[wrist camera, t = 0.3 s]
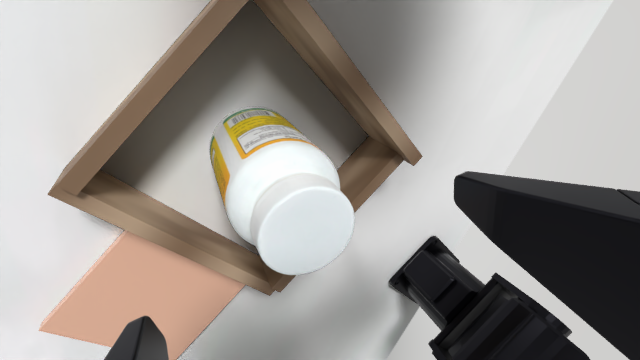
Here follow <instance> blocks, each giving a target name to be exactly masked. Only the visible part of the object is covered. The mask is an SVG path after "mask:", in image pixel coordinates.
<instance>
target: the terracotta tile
mask: <svg viewBox="0 0 640 360" xmlns="http://www.w3.org/2000/svg"><path fill="white" fill-rule="evenodd" d="M244 286H245V284H243V283H241V282H239V281H236V280H234V279H232V278H230V277H228V276H225V275H223V274H221V273H219V272H217V271H214V270H212V269H210V268H208V267H206V266H203V265H201V264H199V263H197V262H195V261H192V260H190V259H188V258H186V257H184V256H181V255H179V254H177V253H175V252H173V251H170V250H168V249H166V248H164V247H162V246H159V245H157V244H155V243H153V242H151V241H148V240H146V239H144V238H142V237H140V236H137V235H135V234H133V233H131V232H129V231H126V230H124V231H123V233H122V234H121V235H120V236H119V237H118V238H117V239H116V240H115V241H114V243H113V244H112V245H111V246H110V247H109V248H108V249H107V250H106V251H105V253H104V254H103V255H102V256H101V257H100V258H99V259H98V260H97V262H96V263H95V264H94V265H93V266H92V267H91V268H90V269H89V270H88V272H87V273H86V274H85V275H84V276H83V277H82V278H81V279H80V281H79V282H78V283H77V284H76V285H75V286H74V287H73V288H72V289H71V291H70V292H69V293H68V294H67V295H66V296H65V297H64V298H63V300H62V301H61V302H60V303H59V304H58V305H57V306H56V307H55V308H54V310H53V311H52V312H51V313H50V314H49V315H48V316H47V317H46V319H45V320H44V321H43V322H42V324H41V326H40V329H39V331H43V332H47V333H51V334H56V335H60V336H65V337H69V338H73V339H78V340H82V341H87V342H91V343H95V344H100V345H104V346H109V347H112V346H113V345H114V343H115V342H116V340H117V339H118V337H119V336H120V334H121V333H122V331H123V329H124V328H125V326H126V325H127V324H128V323H129V322H131V321H133V320H135V319H137V318H140V317H142V316H149V317H150V318H151V319H152V320H153V322H154V323H155V324H156V326H157V327H158V328H159V330H160V331H161V332H162V334H163V335H164V337H165V340H166V343H167V350H168V357H169V360H176V359H177V358H178V357H179V356H180V355H181V354H182V353H183V352H184V350H185V349H186V348H187V347H188V346H189V345H190V344H191V343H192V342H193V341H194V340H195V339H196V338H197V336H198V335H199V334H200V333H201V332H202V331H203V330H204V329H205V328H206V327H207V326H208V325H209V324H210V322H211V321H212V320H213V319H214V318H215V317H216V316H217V315H218V314H219V313H220V312H221V311H222V309H223V308H224V307H225V306H226V305H227V304H228V303H229V302H230V301H231V300H232V299H233V298H234V297H235V295H236V294H237V293H238V292H239V291H240V290H241V289H242V288H243V287H244Z"/></svg>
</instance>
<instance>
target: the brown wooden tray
mask: <svg viewBox="0 0 640 360" xmlns="http://www.w3.org/2000/svg"><path fill="white" fill-rule="evenodd" d="M247 1H248V0H211V1H210V2H209V3H208V5H207V6H206V7H205V8H204V9H203V10H202V11H201V13H200V14H199V15H198V16H197V17H196V18H195V19H194V21H193V22H192V23H191V24H190V25H189V26H188V27H187V29H186V30H185V31H184V32H183V33H182V34H181V35H180V37H179V38H178V39H177V40H176V41H175V42H174V44H173V45H172V46H171V47H170V48H169V49H168V50H167V52H166V53H165V54H164V55H163V56H162V57H161V58H160V60H159V61H158V62H157V63H156V64H155V65H154V66H153V68H152V69H151V70H150V71H149V72H148V73H147V74H146V76H145V77H144V78H143V79H142V80H141V81H140V82H139V84H138V85H137V86H136V87H135V88H134V89H133V90H132V92H131V93H130V94H129V95H128V96H127V97H126V98H125V100H124V101H123V102H122V103H121V104H120V105H119V106H118V108H117V109H116V110H115V111H114V112H113V113H112V114H111V116H110V117H109V118H108V119H107V120H106V121H105V122H104V124H103V125H102V126H101V127H100V128H99V129H98V130H97V132H96V133H95V134H94V135H93V136H92V137H91V138H90V140H89V141H88V142H87V143H86V144H85V145H84V147H83V148H82V149H81V150H80V151H79V152H78V153H77V155H76V156H75V157H74V158H73V159H72V160H71V161H70V163H69V164H68V165H67V166H66V167H65V168H64V170H63V172H62V173H61V175H60V176H59V178H58V179H57V181H56V182H55V184H54V185H53V187H52V188H51V190H50V192H49V193H48V195H50V196H52V197H54V198H56V199H58V200H61V201H63V202H65V203H67V204H69V205H72V206H74V207H76V208H78V209H80V210H83V211H85V212H87V213H89V214H91V215H94V216H96V217H98V218H100V219H102V220H105V221H107V222H109V223H111V224H113V225H116V226H118V227H120V228H122V229H124V230H126V231H129V232H131V233H133V234H135V235H137V236H140V237H142V238H144V239H146V240H148V241H151V242H153V243H155V244H157V245H159V246H162V247H164V248H166V249H168V250H170V251H173V252H175V253H177V254H179V255H181V256H184V257H186V258H188V259H190V260H192V261H195V262H197V263H199V264H201V265H203V266H206V267H208V268H210V269H212V270H214V271H217V272H219V273H221V274H223V275H225V276H228V277H230V278H232V279H234V280H236V281H239V282H241V283H243V284H245V285H247V286H250V287H252V288H254V289H256V290H258V291H261V292H263V293H265V294H267V295H269V296H270V295H271V294H272V293H273V292H274V291H275V290H276V291H278V292H281V291H282V290H283V289H284V288H285V287H286V286H287V284H288V283H289V282H290V281H291V280H292V279H293V278H294V277H295V276H296V275H286V274H282V273H279V272H276V271H274V270H273V269H271V268H270V267H269V266H267V265H266V263H265V262H264V261H263V260H262V258H261V256H260V254H259V255H256V254H255V253H253V252H251V251H249V250H247V249H245V248H244V247H242V246H240V245H238V244H236V243H234V242H232V241H231V240H229V239H227V238H225V237H223V236H221V235H220V234H218V233H216V232H214V231H212V230H210V229H209V228H207V227H205V226H203V225H201V224H199V223H197V222H196V221H194V220H192V219H190V218H188V217H186V216H185V215H183V214H181V213H179V212H177V211H175V210H174V209H172V208H170V207H168V206H166V205H164V204H162V203H161V202H159V201H157V200H155V199H153V198H151V197H150V196H148V195H146V194H144V193H142V192H140V191H139V190H137V189H135V188H133V187H131V186H129V185H127V184H126V183H124V182H122V181H120V180H118V179H116V178H115V177H113V176H111V175H109V174H107V173H105V172H104V171H102V170H100V168H101V167H102V166H103V165H104V164H105V163H106V162H107V160H108V159H109V158H110V157H111V156H112V155H113V154H114V153H115V151H116V150H117V149H118V148H119V147H120V146H121V145H122V143H123V142H124V141H125V140H126V139H127V138H128V137H129V135H130V134H131V133H132V132H133V131H134V130H135V129H136V128H137V126H138V125H139V124H140V123H141V122H142V121H143V120H144V118H145V117H146V116H147V115H148V114H149V113H150V112H151V111H152V109H153V108H154V107H155V106H156V105H157V104H158V103H159V101H160V100H161V99H162V98H163V97H164V96H165V95H166V93H167V92H168V91H169V90H170V89H171V88H172V87H173V86H174V84H175V83H176V82H177V81H178V80H179V79H180V78H181V76H182V75H183V74H184V73H185V72H186V71H187V70H188V68H189V67H190V66H191V65H192V64H193V63H194V62H195V61H196V59H197V58H198V57H199V56H200V55H201V54H202V53H203V51H204V50H205V49H206V48H207V47H208V46H209V45H210V44H211V42H212V41H213V40H214V39H215V38H216V37H217V36H218V34H219V33H220V32H221V31H222V30H223V29H224V28H225V26H226V25H227V24H228V23H229V22H230V21H231V20H232V19H233V17H234V16H235V15H236V14H237V13H238V12H239V11H240V9H241V8H242V7H243V6H244V5H245V4H246V3H247ZM253 1H254V2H255V3H256V5H257V6H258V7H259V8H260V9H261V10H262V12H263V13H264V14H265V15H266V16H267V17H268V19H269V20H270V21H271V22H272V23H273V25H274V26H275V27H276V28H277V29H278V30H279V32H280V33H281V34H282V35H283V36H284V37H285V39H286V40H287V41H288V42H289V43H290V44H291V46H292V47H293V48H294V49H295V50H296V51H297V53H298V54H299V55H300V56H301V57H302V58H303V60H304V61H305V62H306V63H307V64H308V65H309V67H310V68H311V69H312V70H313V71H314V72H315V74H316V75H317V76H318V77H319V78H320V79H321V81H322V82H323V83H324V84H325V85H326V86H327V88H328V89H329V90H330V91H331V92H332V93H333V95H334V96H335V97H336V98H337V99H338V101H339V102H340V103H341V104H342V105H343V106H344V108H345V109H346V110H347V111H348V112H349V113H350V115H351V116H352V117H353V118H354V119H355V120H356V122H357V123H358V124H359V125H360V126H361V127H362V129H363V130H364V131H365V132H366V133H367V134H368V136H369V137H368V138H367V139H366V140H365V141H364V142H363V143H362V144H361V145H360V146H359V147H358V148H357V149H356V151H355V152H354V153H353V154H352V155H351V156H350V157H349V158H348V159H347V160H346V161H345V162H344V164H343V165H342V166H341V167H340V168H339V169H338V170H337V173H338V176H339V181H340V191H341V192H342V193H343V194H344V195H345V196H346V197H347V198H348V200H349V201H350V203H351V205H352V207H353V210H354V213H355V212H356V211H357V210H358V208H359V207H360V206H361V205H362V204H363V203H364V202H365V201H366V200H367V199H368V198H369V197H370V196H371V195H372V194H373V192H374V191H375V190H376V189H377V188H378V187H379V186H380V185H381V184H382V183H383V182H384V181H385V180H386V179H387V177H388V176H389V175H390V174H391V173H392V172H393V171H394V170H395V169H396V168H397V167H398V166H399V165H400V164H401V163H402V161H403V160H404V161H406V162H408V163H410V164H411V165H413V166H414V165H415V164H416V163H417V162H418V161H419V160H420V159H421V158H422V155H421V154H420V153H419V151H418V150H417V148H416V147H415V146H414V144H413V143H412V142H411V140H410V139H409V138H408V136H407V135H406V134H405V132H404V131H403V130H402V128H401V127H400V125H399V124H398V123H397V121H396V120H395V119H394V117H393V116H392V115H391V113H390V112H389V111H388V109H387V108H386V107H385V105H384V104H383V103H382V101H381V100H380V98H379V97H378V96H377V94H376V93H375V92H374V90H373V89H372V88H371V86H370V85H369V84H368V82H367V81H366V80H365V78H364V77H363V76H362V74H361V73H360V71H359V70H358V69H357V67H356V66H355V65H354V63H353V62H352V61H351V59H350V58H349V57H348V55H347V54H346V53H345V51H344V50H343V49H342V47H341V46H340V44H339V43H338V42H337V40H336V39H335V38H334V36H333V35H332V34H331V32H330V31H329V30H328V28H327V27H326V26H325V24H324V23H323V22H322V20H321V19H320V17H319V16H318V15H317V13H316V12H315V11H314V9H313V8H312V7H311V5H310V4H309V3H308V1H307V0H253Z"/></svg>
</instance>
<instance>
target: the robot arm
mask: <svg viewBox="0 0 640 360" xmlns="http://www.w3.org/2000/svg"><path fill="white" fill-rule="evenodd" d="M454 201H455V203H456V205H457V206H458V207H459V208H460V209H461V210H462V211H463V212H464V213H465V215H466V216H467V217H468V218H469V219H470V220H471V221H472V222H473V223H474V224H475V225H476V226H477V227H478V228H479V229H480V230H481V231H482V232H483V233H484V234H485V235H486V236H487V237H488V238H489V239H490V240H491V241H492V242H493V243H494V244H495V245H497V247H499V248H500V249H501V250H502V251H503V252H504V253H506V254H507V255H508V256H509V257H510V258H511V259H513V260H514V261H515V262H516V263H517V264H519V265H520V266H521V267H522V268H523V269H524V270H526V271H527V272H528V273H529V274H530V275H531V276H533V277H534V278H535V279H536V280H537V281H538V282H540V283H541V284H542V285H543V286H544V287H545V288H547V289H548V290H549V291H550V292H551V293H552V294H554V295H555V296H556V297H557V298H558V299H560V300H561V301H562V302H563V303H564V304H565V305H566V306H568V307H569V308H570V309H571V310H572V311H574V312H575V313H576V314H577V315H578V316H579V317H581V318H582V319H583V320H584V321H585V322H586V323H587V324H589V325H590V326H591V327H593V329H594V330H596V331H597V332H598V333H599V334H600V335H601V336H603V337H604V338H605V339H606V340H607V341H608V342H610V343H611V344H612V345H613V346H614V347H615V348H617V349H618V350H619V351H620V352H621V353H623V354H624V355H625V356H626V357H627V358H628V359H630V360H640V192H637V191H628V190H621V189H617V190H615V189H612V188H604V187H595V186H587V185H578V184H570V183H562V182H554V181H545V180H537V179H529V178H519V177H511V176H504V175H495V174H487V173H479V172H470V171H467V172H464V173H462V174H460V175H457V176H456V177H455V179H454ZM390 284H391V285H392V286H393V287H394V288H395V289H397V290H398V291H400V292H401V293H403V294H404V295H405V296H407V297H408V298H410V299H411V300H413V301H414V302H415V303H417V304H418V305H419V306H420V307H421V308H422V309H423V310H424V311H425V312H426V313H427V315H428V316H429V317H430V318H431V319H432V320H433V321H434V323H435V324H436V325H437V326H438V327H439V328H440V329H441V332H440V333H439V334H438V336H437V337H436V338H435V339H434V340H431V341H430V342H429V346H430V347H431V348H432V350H433V352H432V354H433V355H434V356H435V358H436V359H437V360H590V359H589V357H588V356H587V355H586V354H585V353H584V352H583V351H582V350H581V349H580V348H578V347H577V346H576V345H575V344H573V343H572V342H571V341H570V340H568V339H567V337H568V336H569V335H570V334H571V333H572V331H571V330H570V329H569V328H568V327H567V326H566V325H564V323H562V322H561V321H560V320H559V319H558V318H556V317H555V316H554V315H553V314H551V313H550V312H549V311H548V310H547V309H545V308H544V307H543V306H541V305H540V304H539V303H537V302H536V301H535V300H533V299H532V298H531V297H529V296H528V295H526V294H525V293H524V292H522V291H521V290H519V289H518V288H517V287H515V286H514V285H512V284H511V283H510V282H508V281H507V280H505V279H504V278H503V277H501V276H500V275H498V274H497V273H495V274H494V275H493V276H492V279H491V280H490V281H489V282H488V283H487V284H486V285H484V284H483V283H482V282H481V281H479V280H478V279H477V278H476V277H475V276H474V275H472V274H471V273H470V272H469V271H468V270H467V269H465V268H464V267H463V266H461V264H459V260H458V259H457V258H456V257H455V256H454V255H453V253H452V252H451V251H450V250H449V249H448V248H447V247H446V246H445V245H444V244H443V243H442V242H441V241H440V240H439V239H438V238H437V237H436V236H432V237H431V238H430V239H429V240H428V241H427V242H426V243H425V244H424V245H423V246H422V247H421V248H420V249H419V250H418V251H417V252H416V254H415V255H414V256H413V257H412V258H411V259H410V260H409V261H408V262H407V263H406V264H405V265H404V266H403V267H402V268H401V269H400V270H399V271H398V272H397V273H396V274H395V276H394V277H393V278H392V279H391V280H390ZM104 360H169V357H168V350H167V343H166V340H165V337H164V335H163V334H162V332H161V331H160V330H159V328H158V327H157V326H156V324H155V323H154V322H153V320H152V319H151V318H150V317H149V316H142V317H140V318H137V319H135V320H133V321H131V322H129V323H128V324H127V325H126V326H125V328H124V329H123V331H122V333H121V334H120V336H119V337H118V339H117V340H116V342H115V343H114V345H113V346H112V348H111V350H110V351H109V353H108V354H107V356H106V357H105V359H104Z"/></svg>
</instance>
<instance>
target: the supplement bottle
mask: <svg viewBox="0 0 640 360" xmlns="http://www.w3.org/2000/svg"><path fill="white" fill-rule="evenodd" d="M210 159H211V162H212V166H213V169H214V173H215V176H216V179H217V183H218V186H219V189H220V192H221V196H222V199H223V202H224V206H225V209H226V213H227V216H228V218H229V221H230V223H231V225H232V226H233V228H234V230H235V231H236V232H237V233H238V234H239V235H240V236H241V237H242V238H243V239H244V240H246V241H247V242H248V243H250V244H252V245H254V246H256V248H257V250H258V252H259V254H260V256H261V258H262V260H263V261H264V262H265V263H266V265H267V266H269V267H270V268H271V269H273V270H274V271H276V272H279V273H282V274H286V275H302V274H308V273H311V272H314V271H317V270H319V269H321V268H323V267H325V266H326V265H328V264H329V263H330V262H332V261H333V260H334V259H336V258H337V257H338V256H339V255H340V254H341V252H342V251H343V250H344V249H345V247H346V246H347V244H348V242H349V241H350V239H351V236H352V233H353V230H354V224H355V215H354V210H353V207H352V205H351V203H350V201H349V200H348V198H347V197H346V196H345V195H344V194H343V193H342V192H341V191H340V181H339V176H338V173H337V171H336V168H335V166H334V164H333V163H332V161H331V160H330V159H329V158H328V156H327V155H326V154H325V153H324V152H323V151H322V150H320V149H319V148H318V147H317V146H316V145H315V144H313V143H312V142H311V141H310V140H309V139H308V138H307V137H305V136H304V135H303V134H302V133H301V132H300V131H299V130H297V129H296V128H295V127H294V126H293V125H292V124H291V123H289V122H288V121H287V120H286V119H285V118H284V117H282V116H281V115H280V114H278V113H277V112H275V111H273V110H270V109H267V108H263V107H246V108H241V109H238V110H236V111H234V112H232V113H230V114H229V115H227V116H226V117H225V118H224V119H223V120H222V121H221V122H220V123H219V124H218V125H217V127H216V128H215V130H214V132H213V134H212V137H211V141H210Z"/></svg>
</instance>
